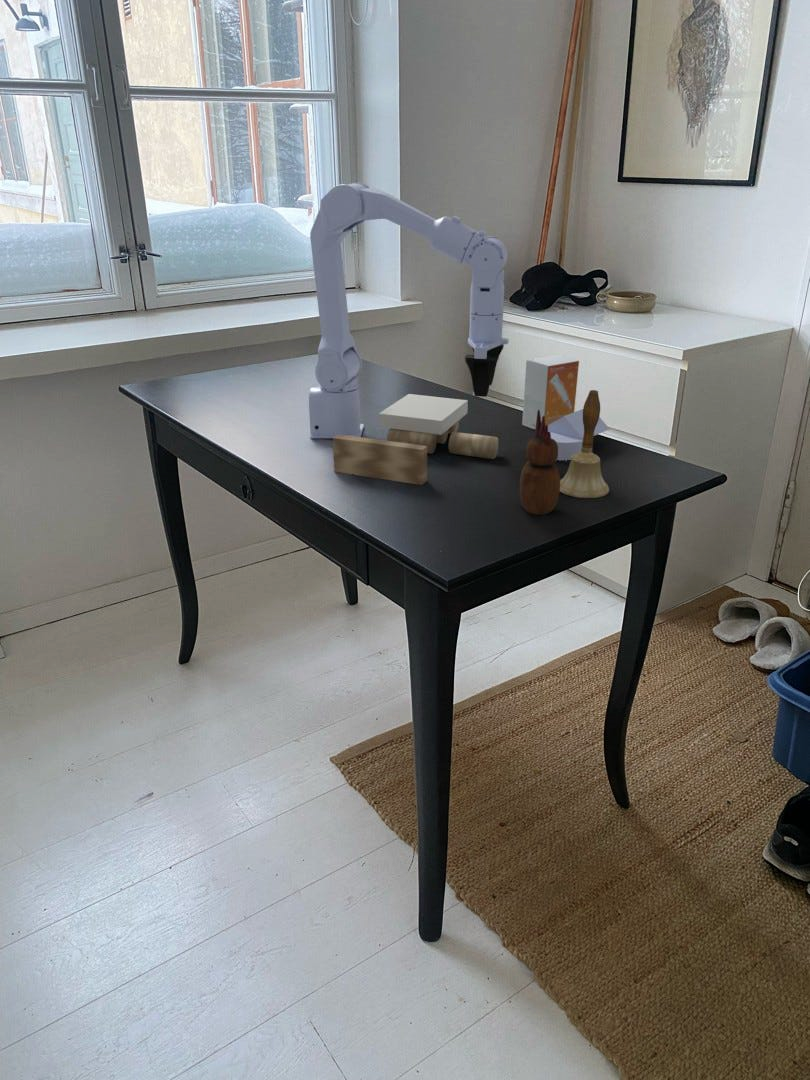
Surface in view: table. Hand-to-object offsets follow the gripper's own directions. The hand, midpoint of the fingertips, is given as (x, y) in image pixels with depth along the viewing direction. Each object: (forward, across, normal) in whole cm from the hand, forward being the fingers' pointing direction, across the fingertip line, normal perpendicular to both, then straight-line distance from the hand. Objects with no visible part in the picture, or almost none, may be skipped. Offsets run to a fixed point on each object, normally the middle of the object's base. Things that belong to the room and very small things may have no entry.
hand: (483, 390), depth 147 cm
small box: (+10, +13, -12) cm, 20 cm away
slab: (+6, -1, +11) cm, 12 cm away
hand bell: (+10, -19, -19) cm, 29 cm away
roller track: (+10, -5, +12) cm, 16 cm away
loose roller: (+10, -6, +1) cm, 12 cm away
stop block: (+10, -20, +14) cm, 27 cm away
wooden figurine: (+10, -29, -12) cm, 33 cm away
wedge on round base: (+10, 0, -16) cm, 19 cm away
